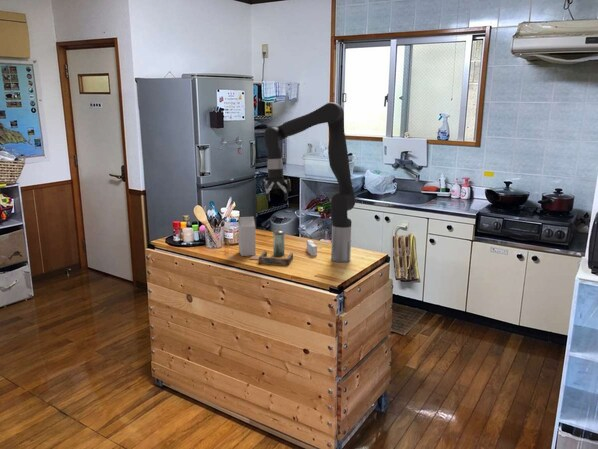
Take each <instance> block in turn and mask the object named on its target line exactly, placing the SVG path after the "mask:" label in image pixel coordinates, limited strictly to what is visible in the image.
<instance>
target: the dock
mask: <svg viewBox="0 0 598 449" xmlns="http://www.w3.org/2000/svg"><path fill="white" fill-rule="evenodd" d="M267 254H268V252H267V250H264V251H263V252H262V253H261V254H260V255H259V256H260V257H259V260H258V264H264V265H277V266H278V265H281V266H289V265H290V264H291V262H292V261H293V260H294V253H292V252H290V254H288V256H287V258H285V257H275V256H274V257H271V256H267Z"/></svg>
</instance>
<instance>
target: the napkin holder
mask: <svg viewBox="0 0 598 449" xmlns="http://www.w3.org/2000/svg"><path fill="white" fill-rule="evenodd" d="M306 251H307V253H308V254H309V255H311V256H312V257H315V256H318V246H317V245H316V244H315V242H314V241H313V240H311V239H310V240H309V239H308V240H306Z"/></svg>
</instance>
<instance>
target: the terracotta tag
mask: <svg viewBox="0 0 598 449" xmlns="http://www.w3.org/2000/svg"><path fill="white" fill-rule="evenodd" d="M259 257H260V255H251V256H250V258H249V260H254V261H259Z"/></svg>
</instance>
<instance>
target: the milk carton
mask: <svg viewBox="0 0 598 449" xmlns="http://www.w3.org/2000/svg"><path fill="white" fill-rule="evenodd" d="M256 246H257V245H256V221H255V216H242V217H241V216H240V217H239V221H238V252H239V254H240V255H241V257H244V256H245V257H247V256H253V255H254V256H257V255H256V249H257V248H256Z"/></svg>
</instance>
